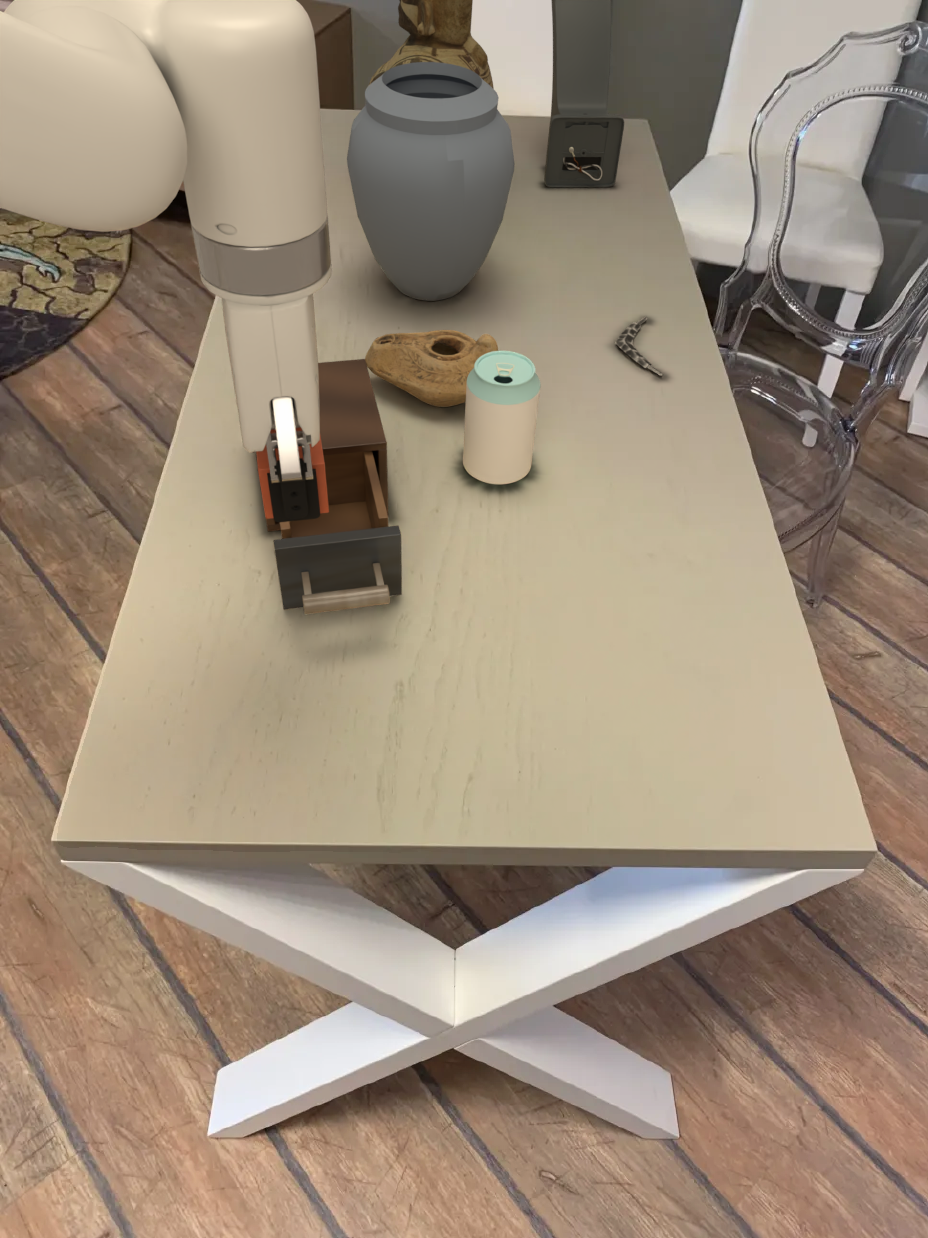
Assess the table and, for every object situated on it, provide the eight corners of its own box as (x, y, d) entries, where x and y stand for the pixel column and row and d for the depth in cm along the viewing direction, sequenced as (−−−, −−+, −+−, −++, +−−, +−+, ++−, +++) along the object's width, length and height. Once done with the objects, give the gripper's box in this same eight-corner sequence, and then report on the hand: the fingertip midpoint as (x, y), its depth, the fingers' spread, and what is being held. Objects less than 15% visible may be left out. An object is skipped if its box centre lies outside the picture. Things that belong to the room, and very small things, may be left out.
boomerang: (608, 311, 117) (647, 314, 117) (607, 317, 118) (646, 320, 118) (622, 370, 109) (664, 373, 109) (620, 375, 109) (663, 378, 109)
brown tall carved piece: (328, 178, 141) (312, -63, 119) (425, 140, 152) (427, -88, 130) (420, 221, 133) (422, -29, 111) (515, 177, 144) (534, -58, 122)
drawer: (410, 631, 81) (410, 570, 75) (288, 647, 79) (278, 587, 73) (380, 502, 92) (378, 442, 86) (272, 514, 90) (262, 453, 84)
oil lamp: (367, 363, 109) (365, 300, 103) (497, 366, 110) (501, 303, 104) (363, 421, 102) (360, 356, 96) (502, 423, 102) (507, 359, 96)
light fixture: (592, 141, 154) (616, -34, 136) (615, 188, 143) (644, 3, 125) (527, 141, 153) (542, -35, 135) (544, 188, 142) (564, 2, 124)
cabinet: (388, 517, 91) (386, 442, 85) (267, 531, 89) (255, 455, 83) (368, 433, 100) (365, 358, 93) (257, 444, 98) (246, 368, 92)
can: (543, 476, 97) (557, 376, 88) (485, 497, 94) (492, 396, 85) (507, 438, 101) (516, 339, 92) (450, 458, 98) (453, 357, 89)
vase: (410, 235, 130) (409, 37, 112) (532, 278, 124) (552, 75, 105) (322, 294, 119) (305, 84, 101) (451, 344, 112) (459, 129, 94)
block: (265, 519, 66) (257, 469, 62) (262, 478, 68) (254, 429, 65) (329, 512, 66) (324, 463, 63) (323, 473, 69) (318, 423, 66)
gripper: (194, 186, 58) (236, 426, 72) (197, 332, 48) (246, 583, 61) (316, 180, 60) (334, 418, 73) (346, 322, 49) (361, 571, 62)
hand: (294, 491), depth 67 cm, fingers closed on block, 4 cm apart
